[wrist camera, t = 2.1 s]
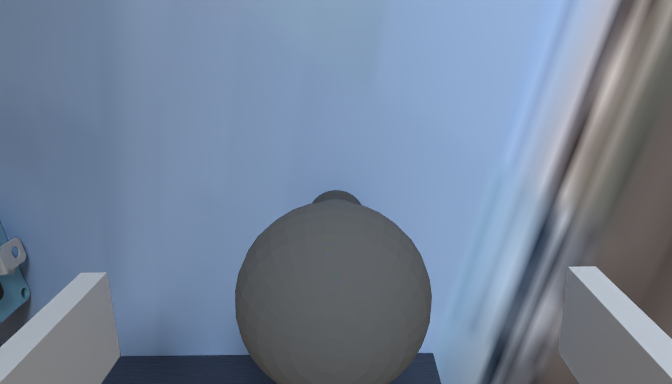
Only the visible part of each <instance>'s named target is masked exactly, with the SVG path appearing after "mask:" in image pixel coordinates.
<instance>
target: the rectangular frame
mask: <svg viewBox="0 0 672 384" xmlns="http://www.w3.org/2000/svg"><path fill="white" fill-rule="evenodd" d="M101 384H277V383H276V382H275V381H273V380H272V379H271V378H270V377H269V376H268V375H266V374H265V373H264V372H263V371H262V370H261V369H260V368H259V366H258V365H257V364H256V363H255V361H254V360H253V359H252V358H251V356H250V355H218V356H122V357H119V358H118V360H117V361H116V363H115V364H114V366H113V367H112V369H111V370H110V372H109V373H108V374H107V376H106V377H105V379H104V380H103V382H102V383H101ZM389 384H441V382H440V378H439V374H438V370H437V367H436V363H435V359H434V355H433V353H417V355H416V356H415V358H414V360H413V361H412V363H411V364H410V365H409V366H408V367H407V368H406V369H405V370H404V372H403V373H402V374H400V375H399V376H398V377H397V378H395V379H394V380H393V381H392V382H390V383H389Z"/></svg>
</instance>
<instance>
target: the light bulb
mask: <svg viewBox="0 0 672 384" xmlns="http://www.w3.org/2000/svg"><path fill="white" fill-rule="evenodd" d="M431 300H432V294H431V287H430V279H429V276H428V273H427V270H426V268H425V265H424V262H423V259H422V257H421V254H420V253H419V251H418V250H417V248H416V247H415V245H414V243H413V242H412V240H411V239H410V238H409V237H408V236H407V235H406V234H405V233H404V232H403V231H402V230H401V229H400V228H399V227H398V226H397V225H396V224H395V223H394V222H392V221H391V220H389V219H388V218H386V217H385V216H383V215H382V214H380V213H379V212H377V211H374V210H372V209H369V208H367V207H365V206H362V205H361V204H360V202H359V201H358V200H357V199H356V198H355V197H354V196H353V195H351V194H349V193H347V192H344V191H337V190H334V191H328V192H325V193H323V194H321V195H320V196H318V197H317V198H316V199H315V200H314V202H313V203H312V204H308V205H305V206H303V207H300V208H297V209H294V210H292V211H290V212H289V213H287V214H285V215H284V216H282V217H280V218H279V219H277V220H276V221H275V222H273V223H272V224H271V225H270V226H269V227H268V228H267V229H266V230H264V231H263V232H262V233H261V234H260V235H259V236H258V238H257V239H256V240H255V242H254V243H253V245H252V246H251V247H250V249H249V250H248V253H247V255H246V257H245V260H244V262H243V264H242V267H241V269H240V271H239V274H238V279H237V285H236V290H235V303H236V319H237V322H238V326H239V330H240V334H241V337H242V340H243V343H244V344H245V346H246V348H247V350H248V352H249V354H250V356H251V358H252V359H253V360H254V361H255V363H256V364H257V365H258V366H259V368H260V369H261V370H262V371H263V372H264V373H265V374H266V375H268V376H269V377H270V378H271V379H272V380H273V381H275V382H276V383H277V384H389V383H390V382H392V381H393V380H394V379H395V378H397V377H398V376H399V375H400V374H402V373H403V372H404V370H405V369H406V368H407V367H408V366H409V365H410V364H411V363H412V361H413V360H414V358H415V356H416V355H417V353H418V351H419V349H420V348H421V346H422V343H423V341H424V338H425V335H426V332H427V329H428V326H429V323H430V312H431Z"/></svg>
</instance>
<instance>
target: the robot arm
mask: <svg viewBox="0 0 672 384" xmlns="http://www.w3.org/2000/svg"><path fill="white" fill-rule="evenodd" d="M558 352H559V354H560V355H561V357H562V358H563V360H564V361H565V363H566V364H567V366H568V368H569V369H570V371H571V372H572V374H573V375H574V377H575V378H576V380H577V381H578V383H579V384H672V339H671V338H670V337H669V336H668V335H667V334H666V333H665V332H664V331H662V330H661V329H660V328H659V327H658V326H657V325H656V324H655V323H654V322H653V321H652V320H651V319H650V318H649V317H648V316H647V315H646V314H645V313H644V312H643V311H642V310H641V309H639V308H638V307H637V306H636V305H635V304H634V303H633V302H632V301H631V300H630V299H629V298H628V297H627V296H626V295H625V294H624V293H623V292H622V291H621V290H620V289H619V288H618V287H616V286H615V285H614V284H613V283H612V282H611V281H610V280H609V279H608V278H607V277H606V276H605V275H604V274H603V273H602V272H601V271H600V270H599V269H598V268H597V267H568V272H567V280H566V289H565V297H564V306H563V314H562V322H561V331H560V339H559V348H558ZM120 356H121V354H120V348H119V342H118V336H117V330H116V324H115V318H114V312H113V305H112V299H111V293H110V287H109V281H108V275H107V272H101V273H80V274H79V275H78V276H77V277H76V278H75V279H73V280H72V281H71V282H70V283H69V284H68V285H67V286H66V287H65V288H64V289H63V290H62V291H60V292H59V293H58V294H57V295H56V296H55V297H54V298H53V299H52V300H51V301H50V302H49V303H48V304H46V305H45V306H44V307H43V308H42V309H41V310H40V311H39V312H38V313H37V314H36V315H35V316H33V317H32V318H31V319H30V320H29V321H28V322H27V323H26V324H25V325H24V326H23V327H22V328H21V329H19V330H18V331H17V332H16V333H15V334H14V335H13V336H12V337H11V338H10V339H9V340H8V341H6V342H5V343H4V344H3V345H2V346H1V347H0V384H101V383H102V382H103V380H104V379H105V377H106V376H107V374H108V373H109V372H110V370H111V369H112V367H113V366H114V364H115V363H116V361H117V360H118V358H119V357H120Z"/></svg>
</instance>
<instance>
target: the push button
mask: <svg viewBox="0 0 672 384" xmlns="http://www.w3.org/2000/svg"><path fill="white" fill-rule="evenodd" d="M13 247H16V248H17V250H18V256H17V258H15V256H14V254H13V251H12V248H13ZM25 260H26V253H25V250H24V248H23V245H22V243H21V241H20V239H19V238H17V237H14V238H12V239H11V240H9V241H8V240H7V237H6V235H5V233H4V230H3V228H2V225H1V223H0V323H1V322H3V321H4V320H5V319H6V318H7V317H8V316H9V315H10V314H12V313H13V312H14V311H15V310H16V309H17V308H18V307H19V306H21V305H22V304H23V303H24V302H26V301H27V300H28V298H29V297H30V291H29V288H28V285H27V283H26V282H25V280H24V278H23V275H22V273H21V270H20V268H19V266H18V265H20V264H21V263H22V262H23V261H25Z"/></svg>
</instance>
